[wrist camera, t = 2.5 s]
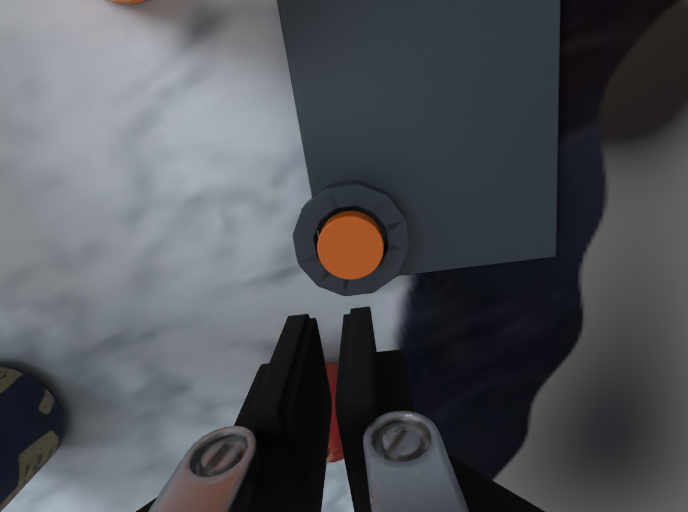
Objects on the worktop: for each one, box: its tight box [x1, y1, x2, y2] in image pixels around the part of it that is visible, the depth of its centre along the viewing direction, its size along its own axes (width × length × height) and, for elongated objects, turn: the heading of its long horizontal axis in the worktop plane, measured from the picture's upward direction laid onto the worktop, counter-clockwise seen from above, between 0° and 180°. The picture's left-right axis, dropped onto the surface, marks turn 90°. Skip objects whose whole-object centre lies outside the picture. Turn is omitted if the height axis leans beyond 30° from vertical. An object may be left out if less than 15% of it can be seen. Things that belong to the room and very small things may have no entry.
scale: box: [277, 0, 560, 296], centre depth 22 cm, size 15×16×4 cm
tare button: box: [317, 211, 384, 280], centre depth 22 cm, size 4×4×2 cm
